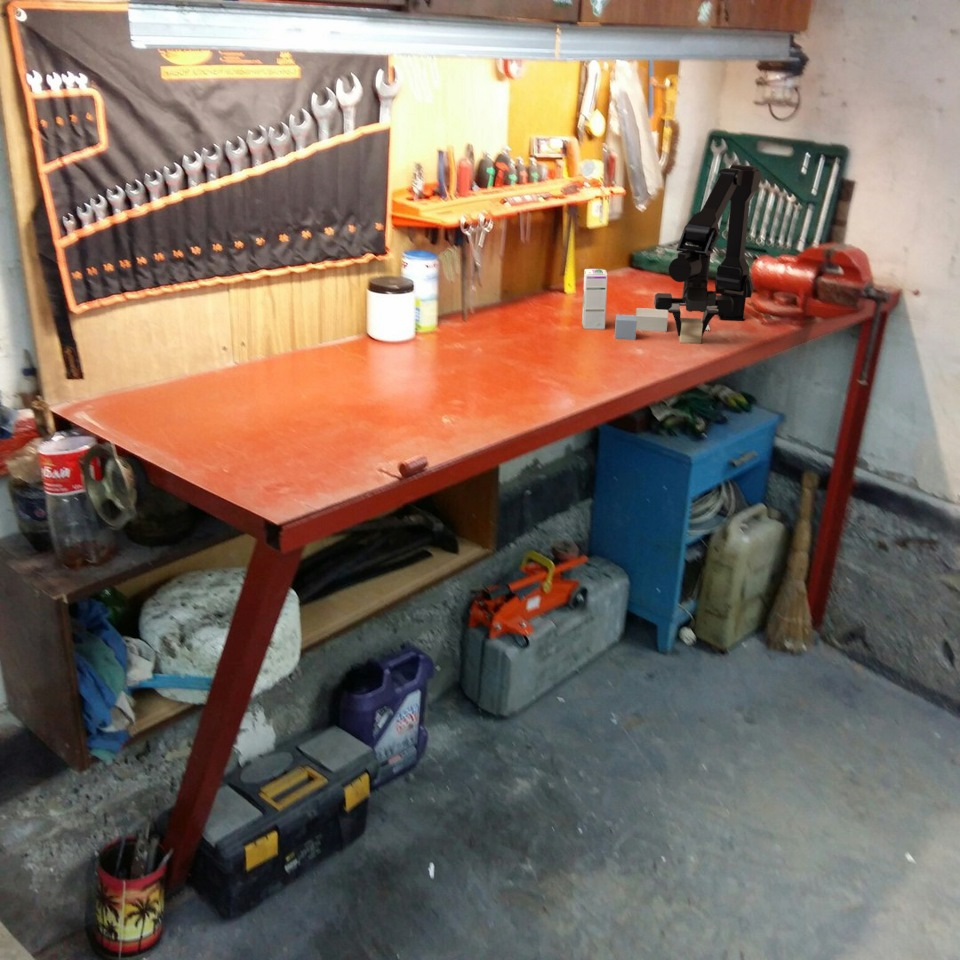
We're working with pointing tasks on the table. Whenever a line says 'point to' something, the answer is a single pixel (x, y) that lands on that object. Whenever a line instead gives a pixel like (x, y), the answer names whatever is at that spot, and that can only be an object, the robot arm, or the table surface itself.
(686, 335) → the birch cube
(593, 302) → the syrup box
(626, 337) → the slate-blue cube
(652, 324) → the base block
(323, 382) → the table surface
